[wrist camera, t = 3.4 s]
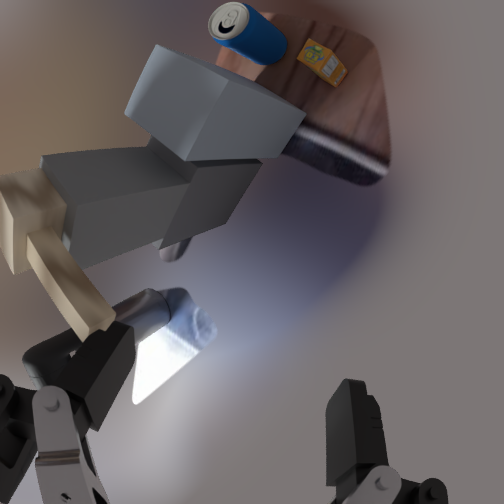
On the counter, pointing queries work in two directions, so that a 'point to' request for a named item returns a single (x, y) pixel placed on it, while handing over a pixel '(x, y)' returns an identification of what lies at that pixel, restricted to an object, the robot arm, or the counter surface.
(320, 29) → the counter surface
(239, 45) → the beverage can
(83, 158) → the tall tower
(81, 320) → the mallet
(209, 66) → the grey tall block
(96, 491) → the robot arm
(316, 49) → the supplement box
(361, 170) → the counter surface
